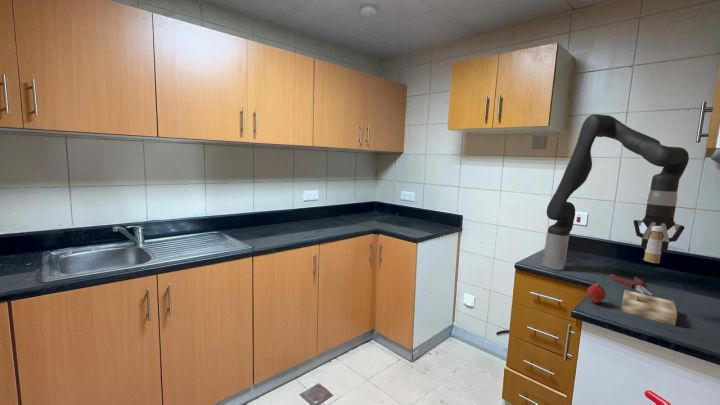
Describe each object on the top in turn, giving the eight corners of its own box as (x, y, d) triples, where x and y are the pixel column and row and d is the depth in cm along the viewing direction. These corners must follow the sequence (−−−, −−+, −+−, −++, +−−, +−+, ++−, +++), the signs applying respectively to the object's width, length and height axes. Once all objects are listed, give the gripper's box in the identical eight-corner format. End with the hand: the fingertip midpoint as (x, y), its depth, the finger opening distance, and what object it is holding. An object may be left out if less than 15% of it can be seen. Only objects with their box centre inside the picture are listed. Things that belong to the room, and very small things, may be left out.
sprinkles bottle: (646, 259, 120) (652, 223, 118) (662, 262, 116) (668, 226, 114) (640, 260, 118) (646, 224, 116) (656, 264, 114) (662, 227, 112)
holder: (621, 311, 116) (623, 300, 115) (622, 299, 126) (624, 289, 126) (674, 325, 107) (677, 314, 106) (671, 311, 117) (673, 301, 116)
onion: (581, 299, 124) (584, 279, 123) (595, 299, 125) (598, 279, 123) (593, 306, 118) (596, 285, 117) (607, 306, 119) (611, 286, 118)
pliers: (631, 295, 132) (632, 289, 131) (608, 278, 151) (609, 272, 151) (665, 300, 129) (666, 293, 128) (636, 281, 148) (637, 276, 148)
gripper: (635, 202, 116) (627, 248, 118) (691, 207, 106) (682, 256, 109) (635, 200, 121) (628, 244, 123) (688, 205, 112) (680, 252, 114)
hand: (653, 250), depth 116 cm, fingers closed on sprinkles bottle, 4 cm apart
